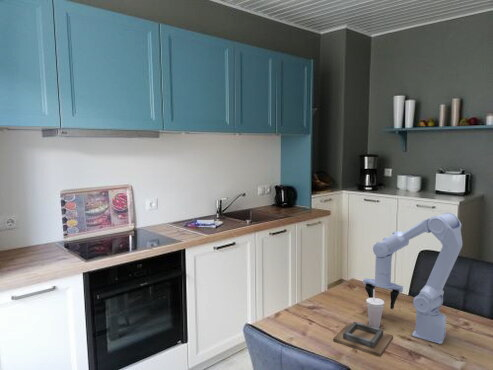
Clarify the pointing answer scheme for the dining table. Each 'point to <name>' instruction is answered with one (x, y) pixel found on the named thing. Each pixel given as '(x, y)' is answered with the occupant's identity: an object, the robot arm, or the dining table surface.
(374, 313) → the smoothie
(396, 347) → the dining table surface
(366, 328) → the bottle stand
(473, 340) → the dining table surface
